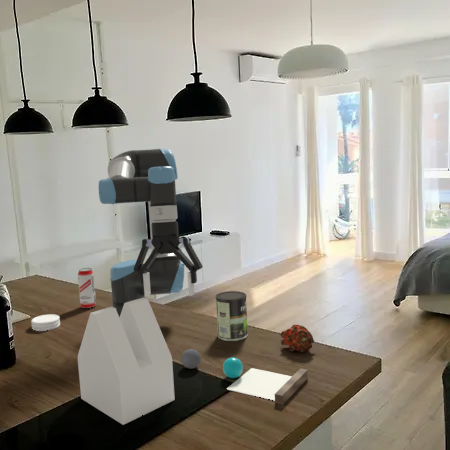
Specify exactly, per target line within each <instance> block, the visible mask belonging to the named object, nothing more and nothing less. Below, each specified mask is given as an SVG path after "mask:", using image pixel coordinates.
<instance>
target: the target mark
mask: <svg viewBox="0 0 450 450" xmlns="http://www.w3.org/2000/svg"><path fill="white" fill-rule="evenodd" d="M292 376H293V375H292ZM292 376H291V375H286V374H281V373H278V372H273V371H268V370H263V369H258V368H254V367H251V368H250V369H249V370H247V371H246V372H244V374H243V375H240V376H239V377H238V379H237V380H235V381H234V382H233V383H231V385H229V386H228V387H227V388H226V389H227V391H230V392H231V391H232V392H235V393H238V394H239V393H240V394H243V395H249V396H251V397H255V396H256V397H257V398H259V397H261V398H260V399H263V398H264V400H268V399H270V400H269V401H272V400H273V401H272V402H275V393H276V392H277V391H278V390H279V389H280V388H281V387H282V386H283V385H284V384H285V383H286V382H287V381H288V380H289V379H290V378H291V377H292Z"/></svg>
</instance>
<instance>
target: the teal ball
mask: <svg viewBox="0 0 450 450" xmlns="http://www.w3.org/2000/svg"><path fill="white" fill-rule="evenodd" d="M243 370H244V366H243V363H242V361H241V360H240V359H239V358H237V357H233V356H232V357H228V358H227V359H226V360H225V361H224V362H223V365H222V371H223V374H224V375H225V376H226V377H228V378H230V379H236V378H239V377H241V376H242V373H243Z"/></svg>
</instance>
